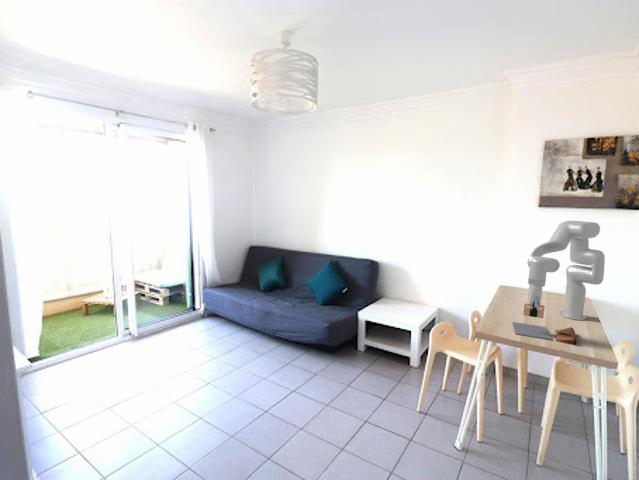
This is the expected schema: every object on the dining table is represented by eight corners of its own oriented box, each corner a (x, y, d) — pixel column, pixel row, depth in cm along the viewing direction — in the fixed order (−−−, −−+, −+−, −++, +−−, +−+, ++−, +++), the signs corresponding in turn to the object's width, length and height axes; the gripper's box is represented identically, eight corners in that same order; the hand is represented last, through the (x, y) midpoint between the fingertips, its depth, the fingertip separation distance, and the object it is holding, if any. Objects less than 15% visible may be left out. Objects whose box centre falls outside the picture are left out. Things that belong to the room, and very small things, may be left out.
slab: (522, 314, 179) (524, 302, 178) (542, 317, 175) (544, 305, 174) (523, 315, 177) (524, 303, 177) (543, 318, 174) (544, 306, 173)
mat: (512, 322, 190) (512, 321, 190) (545, 328, 183) (545, 327, 183) (515, 334, 174) (515, 333, 174) (552, 340, 167) (552, 339, 167)
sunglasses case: (554, 329, 181) (563, 321, 178) (567, 338, 178) (576, 330, 176) (555, 341, 166) (565, 332, 164) (569, 351, 163) (579, 342, 161)
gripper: (526, 278, 183) (522, 310, 185) (530, 284, 169) (526, 319, 171) (542, 279, 179) (538, 312, 182) (547, 286, 165) (543, 322, 168)
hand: (532, 315), depth 176 cm, fingers closed on slab, 1 cm apart
